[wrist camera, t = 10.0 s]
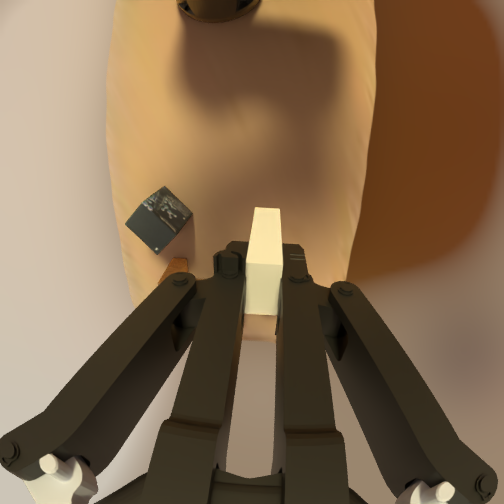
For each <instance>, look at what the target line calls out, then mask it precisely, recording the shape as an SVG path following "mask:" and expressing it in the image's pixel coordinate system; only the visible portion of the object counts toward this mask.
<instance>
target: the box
mask: <svg viewBox="0 0 504 504" xmlns="http://www.w3.org/2000/svg"><path fill="white" fill-rule="evenodd" d="M192 214H193V213H192V212H191V211H190V210H189V209H188V208H187V207H186V206H185V205H184V204H183V203H182V202H181V201H180V200H179V199H178V198H177V197H175V195H173V193H171V191H169V190H168V188H166V187H165V186H164V187H162V188H161V189H159V190H158V191H157V192H155V193H154V194H153V195H151V196H150V197H149V198H147V199H146V200H145V201H143V202H142V203H141V204H140V206H139V207H138V208H137V209H136V211H135V212H134V213H133V214H132V215H131V217H130V218H129V219H128V220H127V222H126V223H125V225H126V226H127V227H128V228H129V229H130V230H131V231H133V232H134V233H135V234H136V235H137V236H138V237H139V238H140V239H141V240H142V241H143V242H144V243H145V244H146V245H147V246H148V247H149V248H150V249H152V250H153V251H154V252H155V253H156V254H157V255H158V254H159V253H160V252H161V251H162V250H163V249H164V248H165V246H166V245H167V244H168V243H169V242H170V241H171V240H172V239H173V238H174V237H175V236H176V235H177V234H178V233H179V231H180V230H181V229H182V227H183V226H184V225H185V223H186V222H187V221H188V219H189V218H190V217H191V215H192Z"/></svg>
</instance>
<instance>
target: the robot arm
mask: <svg viewBox="0 0 504 504" xmlns="http://www.w3.org/2000/svg"><path fill="white" fill-rule="evenodd" d="M176 1H177V4H178V5H179V7H180V8H181V9H182V10H183V11H184V12H185V13H186V14H187V15H188V16H190V17H191V18H193V19H195V20H198V21H202V22H209V23H218V22H225V21H230V20H233V19H236V18H238V17H241V16H243V15H244V14H246V13H248V12H249V11H250V10H252V9H253V8H254V7H255V6H256V5H257V3H258V2H259V0H176ZM213 258H214V275H213V277H211V278H208V279H204V280H196V279H195V276H194V275H193V274H191V273H188V272H176V273H173V274H170V275H169V276H168V277H166V278H165V279H164V280H163V281H162V282H161V283H160V284H159V285H158V286H157V287H156V288H155V289H154V290H153V291H152V293H151V294H150V295H149V296H148V297H147V298H146V299H145V300H144V301H143V302H142V303H141V304H140V305H139V306H138V307H137V308H136V309H135V310H134V311H133V312H132V313H131V314H130V315H129V317H127V318H126V319H125V321H124V322H123V323H122V324H121V325H120V326H119V327H118V328H117V329H116V330H115V331H114V332H113V333H112V334H111V335H110V336H109V338H108V339H107V340H106V341H105V342H104V343H103V344H102V345H101V346H100V347H99V348H98V350H97V351H96V352H95V353H94V354H93V355H92V356H91V357H90V358H89V359H88V361H87V362H86V363H85V364H84V365H83V366H82V367H81V368H80V370H79V371H78V372H77V373H76V374H75V375H74V376H73V377H72V379H71V380H70V381H69V382H68V383H67V384H66V386H65V387H64V388H63V389H62V390H61V391H60V392H59V394H58V395H57V396H56V397H55V398H54V400H53V401H52V402H51V403H50V404H49V406H48V407H47V408H46V409H45V411H44V412H42V413H40V414H38V415H37V416H35V417H34V418H32V419H30V420H29V421H27V422H25V423H24V424H22V425H20V426H19V427H17V428H15V429H14V430H12V431H10V432H9V433H7V434H5V435H4V436H3V437H2V438H1V439H0V463H1V465H2V466H3V467H4V468H5V469H6V470H8V471H9V472H11V473H12V474H14V475H16V476H17V477H19V478H21V479H22V480H23V481H24V482H25V484H26V486H27V488H28V490H29V492H30V494H31V495H32V497H33V499H34V501H35V502H36V504H88V503H89V500H90V499H91V497H92V496H93V495H95V494H97V492H98V486H97V481H96V476H97V475H99V474H100V473H101V472H102V471H103V470H104V469H105V468H106V467H107V466H108V465H109V464H110V462H111V461H112V460H113V458H114V457H115V456H116V455H117V453H118V452H119V450H120V449H121V447H122V446H123V444H124V443H125V441H126V440H127V438H128V437H129V435H130V434H131V432H132V431H133V429H134V428H135V426H136V425H137V423H138V422H139V420H140V418H141V417H142V416H143V414H144V413H145V411H146V410H147V408H148V406H149V405H150V403H151V402H152V401H153V399H154V398H155V396H156V395H157V393H158V392H159V390H160V389H161V387H162V386H163V384H164V383H165V381H166V379H167V378H168V377H169V375H170V373H171V372H172V371H173V369H174V368H175V366H176V365H177V363H178V362H179V360H180V359H181V357H182V355H183V354H184V353H185V351H186V350H187V348H188V347H189V345H190V344H191V342H192V341H193V342H192V344H191V348H190V351H189V354H188V358H187V361H186V364H185V368H184V372H183V375H182V378H181V381H180V385H179V388H178V392H177V395H176V399H175V402H174V406H173V409H172V413H171V416H170V418H169V419H167V420H164V422H163V423H162V424H161V427H160V430H159V432H158V436H157V439H156V443H155V447H154V451H153V454H152V458H151V461H150V465H149V469H148V472H147V473H145V474H143V475H141V476H139V477H137V478H136V479H134V480H133V481H131V482H130V483H128V484H127V485H125V486H123V487H122V488H120V489H118V490H117V491H115V492H113V493H112V494H110V495H108V496H107V497H105V498H103V499H101V500H100V501H98V502H96V503H94V504H368V503H367V502H365V501H364V500H363V499H362V498H361V497H360V496H359V495H358V494H357V493H356V492H355V491H354V490H352V489H351V488H349V487H348V475H347V463H346V453H345V443H344V438H343V436H342V433H341V432H339V431H337V430H336V426H335V420H334V411H333V402H332V394H331V386H330V379H329V372H328V365H327V358H326V352H327V354H328V356H329V358H330V361H331V362H332V365H333V367H334V369H335V371H336V373H337V375H338V378H339V380H340V382H341V384H342V386H343V388H344V391H345V393H346V395H347V397H348V399H349V402H350V404H351V406H352V408H353V410H354V413H355V415H356V417H357V419H358V422H359V424H360V426H361V428H362V431H363V433H364V435H365V437H366V440H367V442H368V444H369V446H370V449H371V451H372V453H373V456H374V458H375V460H376V463H377V465H378V467H379V470H380V472H381V474H382V476H383V478H384V480H385V482H386V484H387V486H388V487H389V488H390V490H391V492H392V493H393V494H394V496H395V497H396V498H397V500H396V502H395V504H485V503H487V502H488V501H490V500H491V498H492V497H493V496H494V494H495V492H496V489H497V484H498V479H497V475H496V473H495V471H494V470H493V469H492V468H491V467H490V466H489V465H487V464H486V463H485V462H484V461H483V460H482V459H481V458H480V457H479V456H478V455H476V454H475V453H474V452H473V451H472V450H471V449H470V448H469V447H467V446H466V445H465V444H464V443H463V442H462V441H461V440H459V438H458V436H457V434H456V432H455V431H454V429H453V427H452V425H451V424H450V422H449V420H448V418H447V417H446V415H445V413H444V412H443V410H442V408H441V407H440V405H439V404H438V402H437V400H436V399H435V397H434V395H433V394H432V392H431V391H430V389H429V388H428V386H427V384H426V383H425V381H424V380H423V378H422V377H421V375H420V374H419V372H418V370H417V369H416V367H415V366H414V365H413V363H412V361H411V360H410V358H409V357H408V356H407V354H406V353H405V351H404V350H403V348H402V347H401V345H400V344H399V342H398V341H397V339H396V338H395V337H394V335H393V334H392V332H391V331H390V330H389V328H388V327H387V325H386V324H385V323H384V321H383V320H382V318H381V317H380V316H379V314H378V313H377V312H376V310H375V309H374V308H373V306H372V305H371V304H370V302H369V301H368V300H367V298H366V297H365V296H364V294H363V293H362V292H361V290H360V289H359V288H358V287H357V286H356V285H354V284H352V283H350V282H346V281H338V282H334V283H333V284H332V285H331V288H327V287H323V286H320V285H318V284H316V283H314V282H313V278H312V276H311V275H309V274H308V270H307V264H306V260H305V254H304V249H303V248H302V247H301V246H300V245H299V244H284V243H282V237H281V221H280V209H275V208H259V207H255V212H254V218H253V224H252V230H251V235H250V241H249V242H241V241H232V242H230V243H229V244H228V245H227V247H226V250H222V251H219V252H217V253H216V254H215V255H214V256H213ZM244 312H245V313H246V314H260V315H277V313H278V315H277V323H276V331H275V335H276V390H275V423H274V449H273V463H272V469H271V475H268V476H263V477H257V478H250V479H249V478H244V477H240V476H237V475H234V474H231V473H228V472H226V456H227V447H228V440H229V432H230V425H231V417H232V410H233V402H234V395H235V387H236V379H237V372H238V364H239V357H240V349H241V342H242V334H243V326H244ZM325 350H326V351H325Z"/></svg>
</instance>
